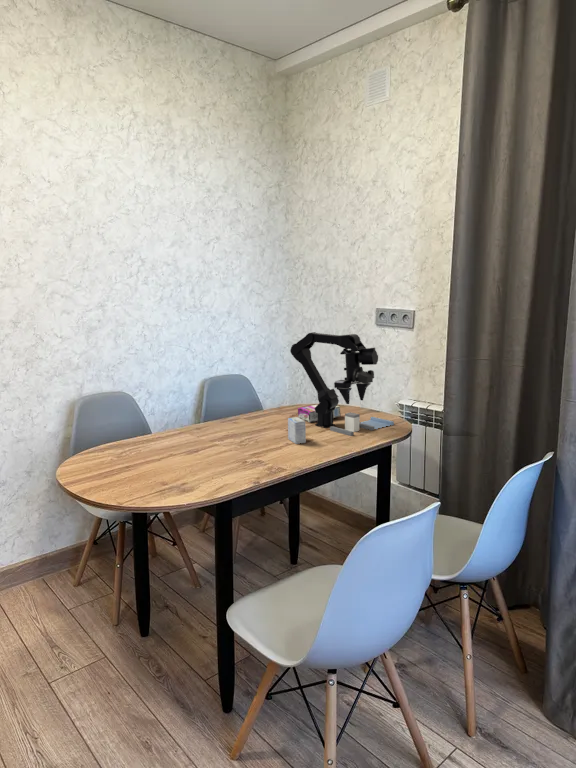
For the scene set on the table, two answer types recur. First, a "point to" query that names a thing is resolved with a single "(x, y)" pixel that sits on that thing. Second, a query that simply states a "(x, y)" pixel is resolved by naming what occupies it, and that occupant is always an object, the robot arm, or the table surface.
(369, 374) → the robot arm
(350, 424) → the grey chamfered block
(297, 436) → the medicine box
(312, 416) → the candy bar box
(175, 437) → the table surface
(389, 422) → the rail tray
